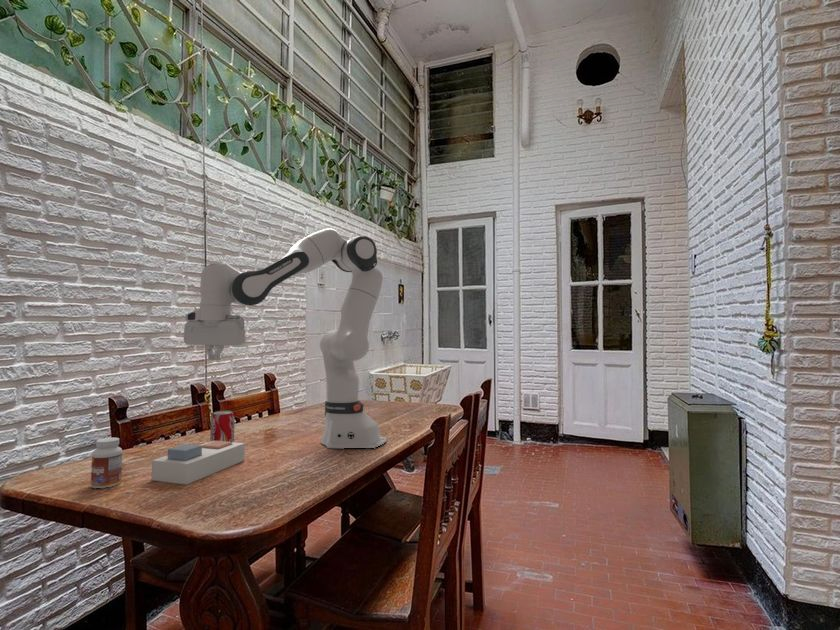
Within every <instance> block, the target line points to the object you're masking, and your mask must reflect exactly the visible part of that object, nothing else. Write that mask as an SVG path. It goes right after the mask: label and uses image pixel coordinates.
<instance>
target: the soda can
mask: <svg viewBox="0 0 840 630" xmlns="http://www.w3.org/2000/svg"><path fill="white" fill-rule="evenodd" d="M233 413H234V412H233V411H232V410H217V411H215V412H213V414H212V416H211V418H210V433H209V434H210V435H209V436H210V437H209V440H210V441H209V442H211V441H227V442H235V416H234V414H233Z"/></svg>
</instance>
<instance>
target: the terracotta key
mask: <svg viewBox="0 0 840 630" xmlns="http://www.w3.org/2000/svg"><path fill="white" fill-rule="evenodd" d="M209 442H210V441H209ZM206 443H207V444H205V443H203V444H204V445H202V448H209V449H221V448H224V447H227V446H230V445H232V442H227V441H213V442H210V443H208V442H206Z"/></svg>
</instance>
